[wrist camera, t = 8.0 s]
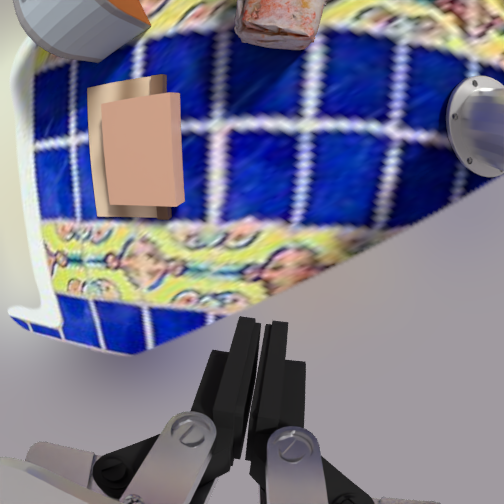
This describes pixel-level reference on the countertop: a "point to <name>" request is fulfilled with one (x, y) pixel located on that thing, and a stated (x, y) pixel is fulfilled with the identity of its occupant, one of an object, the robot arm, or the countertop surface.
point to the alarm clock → (81, 25)
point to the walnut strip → (156, 88)
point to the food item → (278, 22)
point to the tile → (143, 150)
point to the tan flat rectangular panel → (95, 99)
